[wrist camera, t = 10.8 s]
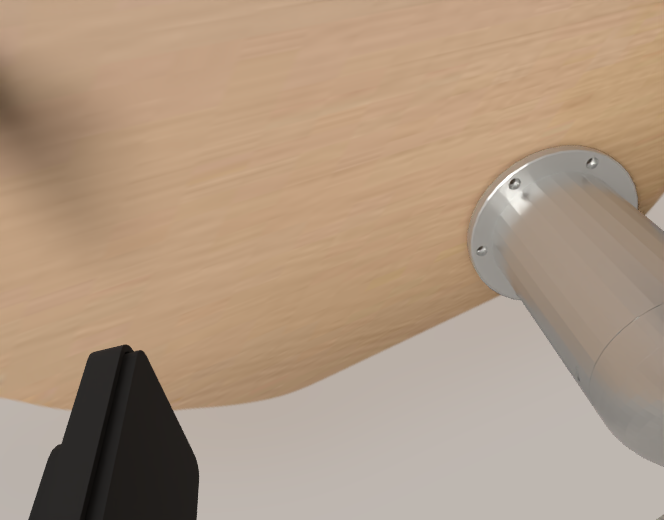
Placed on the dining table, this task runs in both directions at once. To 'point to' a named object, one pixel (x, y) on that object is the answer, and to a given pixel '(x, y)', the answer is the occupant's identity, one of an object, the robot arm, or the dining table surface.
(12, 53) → the dining table surface
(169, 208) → the dining table surface
